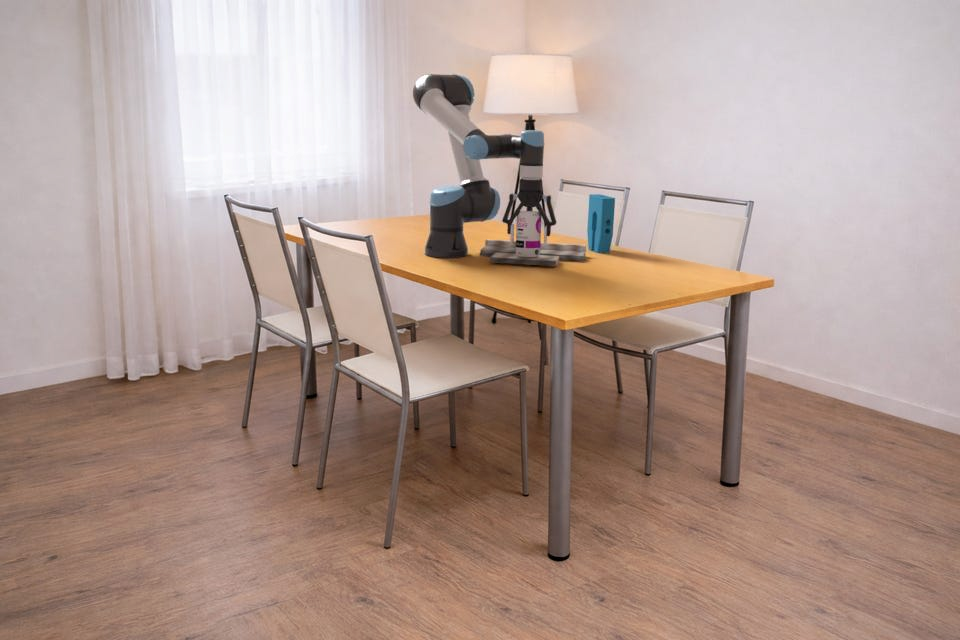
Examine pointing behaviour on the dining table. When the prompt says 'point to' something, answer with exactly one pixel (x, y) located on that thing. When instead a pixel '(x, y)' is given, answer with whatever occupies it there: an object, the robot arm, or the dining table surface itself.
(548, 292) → the dining table surface
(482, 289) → the dining table surface
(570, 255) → the floorboard
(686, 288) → the dining table surface
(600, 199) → the block
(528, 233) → the supplement can
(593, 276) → the dining table surface
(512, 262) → the plank
